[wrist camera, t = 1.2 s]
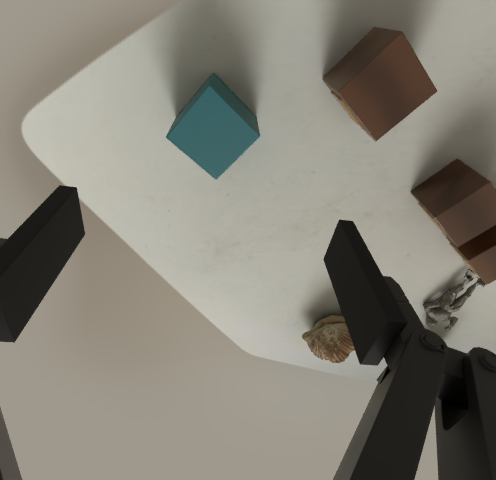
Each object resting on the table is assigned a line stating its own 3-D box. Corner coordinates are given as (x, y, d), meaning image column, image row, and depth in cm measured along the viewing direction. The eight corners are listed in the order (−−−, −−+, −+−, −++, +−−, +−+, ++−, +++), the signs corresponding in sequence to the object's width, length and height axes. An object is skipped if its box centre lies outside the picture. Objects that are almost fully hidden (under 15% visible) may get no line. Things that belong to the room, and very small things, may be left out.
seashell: (295, 315, 53) (313, 343, 57) (299, 350, 48) (319, 378, 51) (348, 298, 51) (364, 328, 54) (359, 333, 45) (375, 364, 49)
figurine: (503, 289, 45) (451, 344, 51) (491, 274, 48) (444, 327, 54) (461, 272, 45) (414, 329, 51) (452, 259, 49) (409, 314, 54)
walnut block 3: (486, 204, 40) (520, 231, 36) (502, 230, 43) (536, 259, 38) (440, 232, 43) (466, 261, 38) (459, 256, 46) (485, 285, 41)
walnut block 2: (457, 158, 36) (490, 181, 32) (477, 190, 39) (511, 216, 34) (408, 192, 39) (433, 218, 34) (430, 220, 42) (456, 248, 37)
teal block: (213, 72, 30) (209, 84, 26) (256, 116, 33) (260, 136, 28) (174, 119, 33) (164, 138, 28) (217, 157, 36) (215, 181, 31)
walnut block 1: (374, 26, 29) (402, 31, 24) (406, 77, 31) (438, 91, 26) (320, 80, 31) (336, 93, 26) (354, 123, 34) (374, 143, 29)
